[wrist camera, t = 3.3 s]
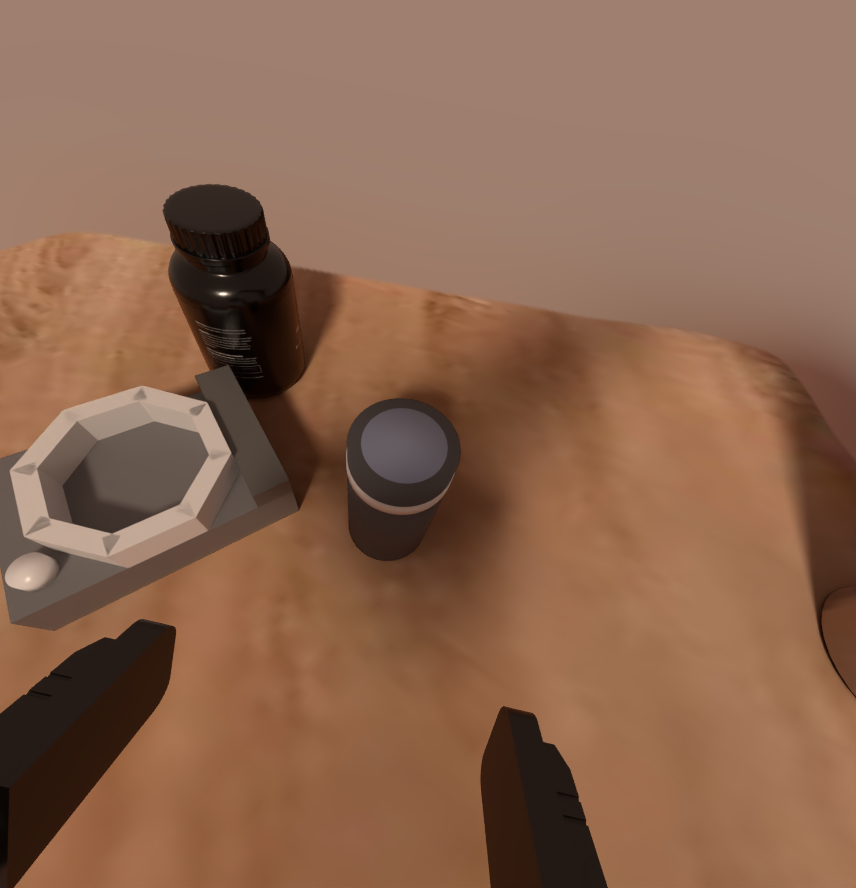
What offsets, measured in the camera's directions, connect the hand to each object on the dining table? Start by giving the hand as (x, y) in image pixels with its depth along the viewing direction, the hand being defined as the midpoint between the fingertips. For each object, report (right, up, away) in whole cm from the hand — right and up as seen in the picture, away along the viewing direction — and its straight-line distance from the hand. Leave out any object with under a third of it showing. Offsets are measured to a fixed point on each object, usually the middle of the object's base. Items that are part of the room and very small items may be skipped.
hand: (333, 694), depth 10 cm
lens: (0, +1, +16) cm, 16 cm away
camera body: (-14, +3, +15) cm, 20 cm away
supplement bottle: (-11, +12, +21) cm, 27 cm away
